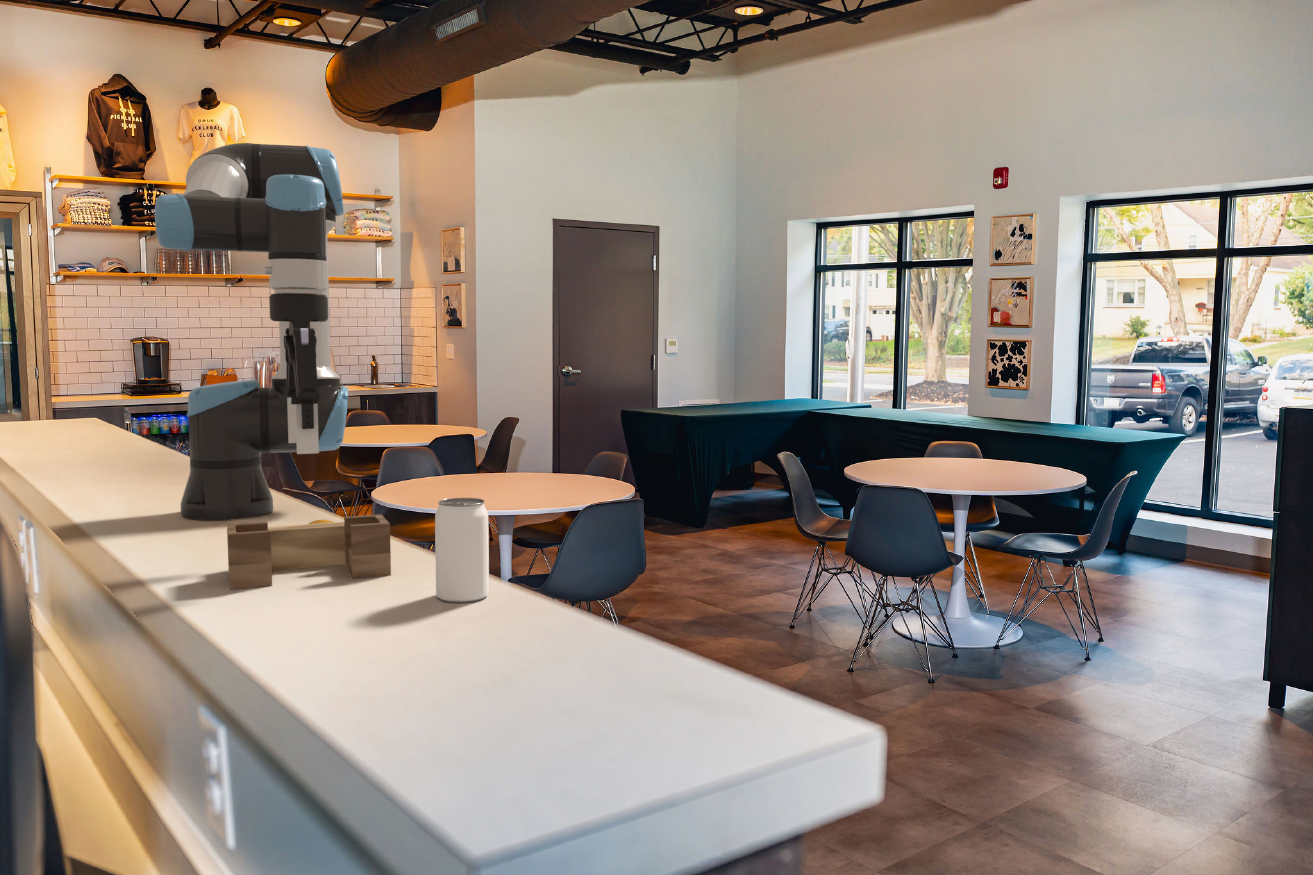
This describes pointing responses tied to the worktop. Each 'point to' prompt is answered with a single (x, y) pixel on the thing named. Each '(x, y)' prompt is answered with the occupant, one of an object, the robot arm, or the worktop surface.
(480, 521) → the can
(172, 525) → the worktop surface
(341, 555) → the rail
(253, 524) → the post
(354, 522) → the post
